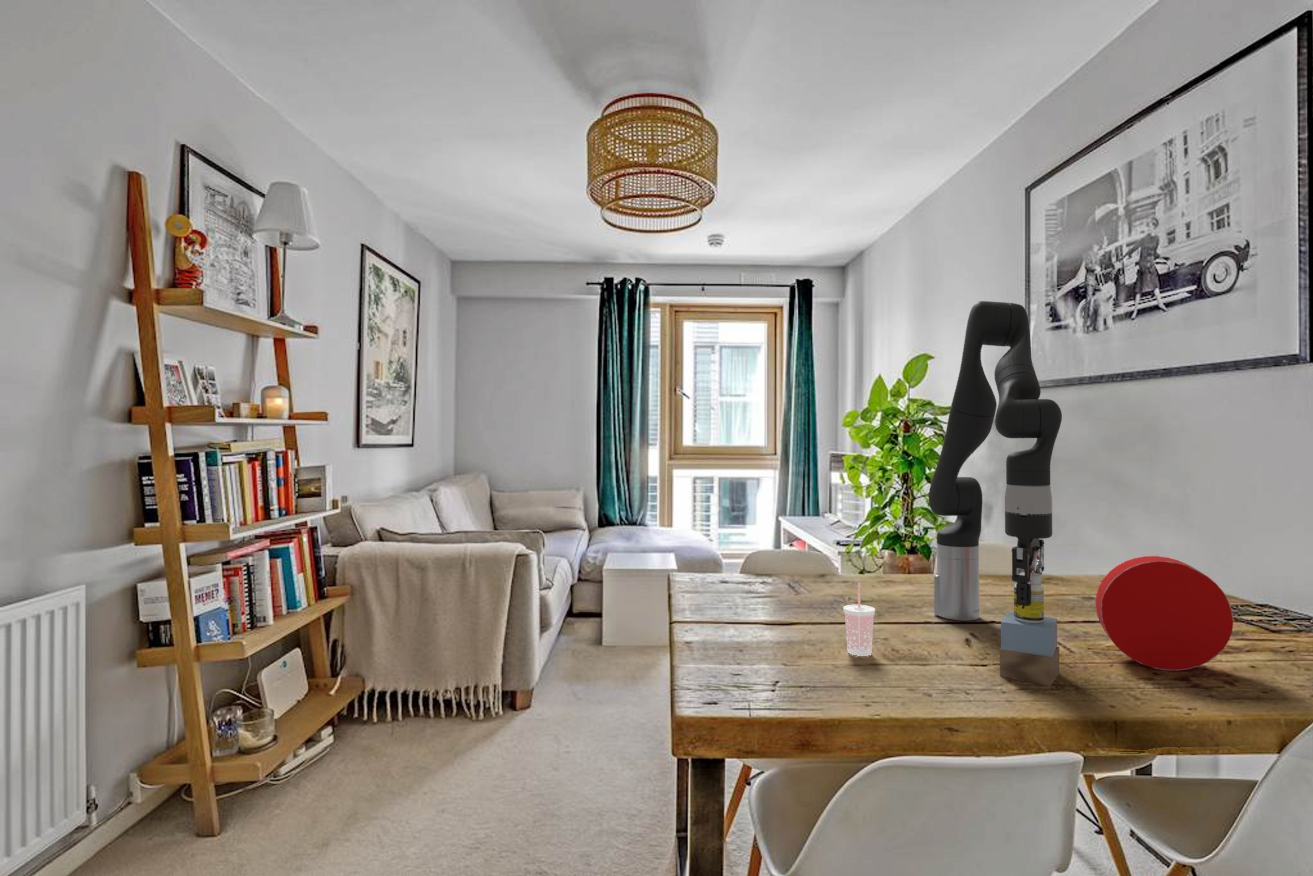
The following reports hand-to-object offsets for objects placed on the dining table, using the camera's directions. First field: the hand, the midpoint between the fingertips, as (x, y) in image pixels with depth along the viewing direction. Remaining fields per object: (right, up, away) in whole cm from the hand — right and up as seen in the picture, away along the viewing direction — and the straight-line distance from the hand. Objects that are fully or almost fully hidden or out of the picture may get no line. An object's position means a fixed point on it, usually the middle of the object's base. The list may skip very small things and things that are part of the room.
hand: (1028, 600), depth 124 cm
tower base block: (0, -14, 0) cm, 14 cm away
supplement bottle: (0, -4, 0) cm, 4 cm away
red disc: (+27, -13, +5) cm, 31 cm away
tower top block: (0, -9, 0) cm, 9 cm away
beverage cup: (-27, -14, +13) cm, 33 cm away
